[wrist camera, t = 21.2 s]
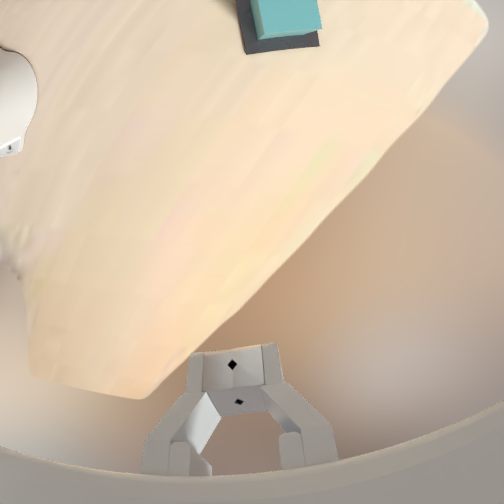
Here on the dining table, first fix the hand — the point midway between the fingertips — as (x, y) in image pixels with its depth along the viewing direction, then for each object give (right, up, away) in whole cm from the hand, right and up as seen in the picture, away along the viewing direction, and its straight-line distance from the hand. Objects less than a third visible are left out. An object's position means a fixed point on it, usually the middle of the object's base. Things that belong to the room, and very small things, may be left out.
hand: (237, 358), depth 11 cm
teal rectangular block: (+3, +32, +19) cm, 37 cm away
